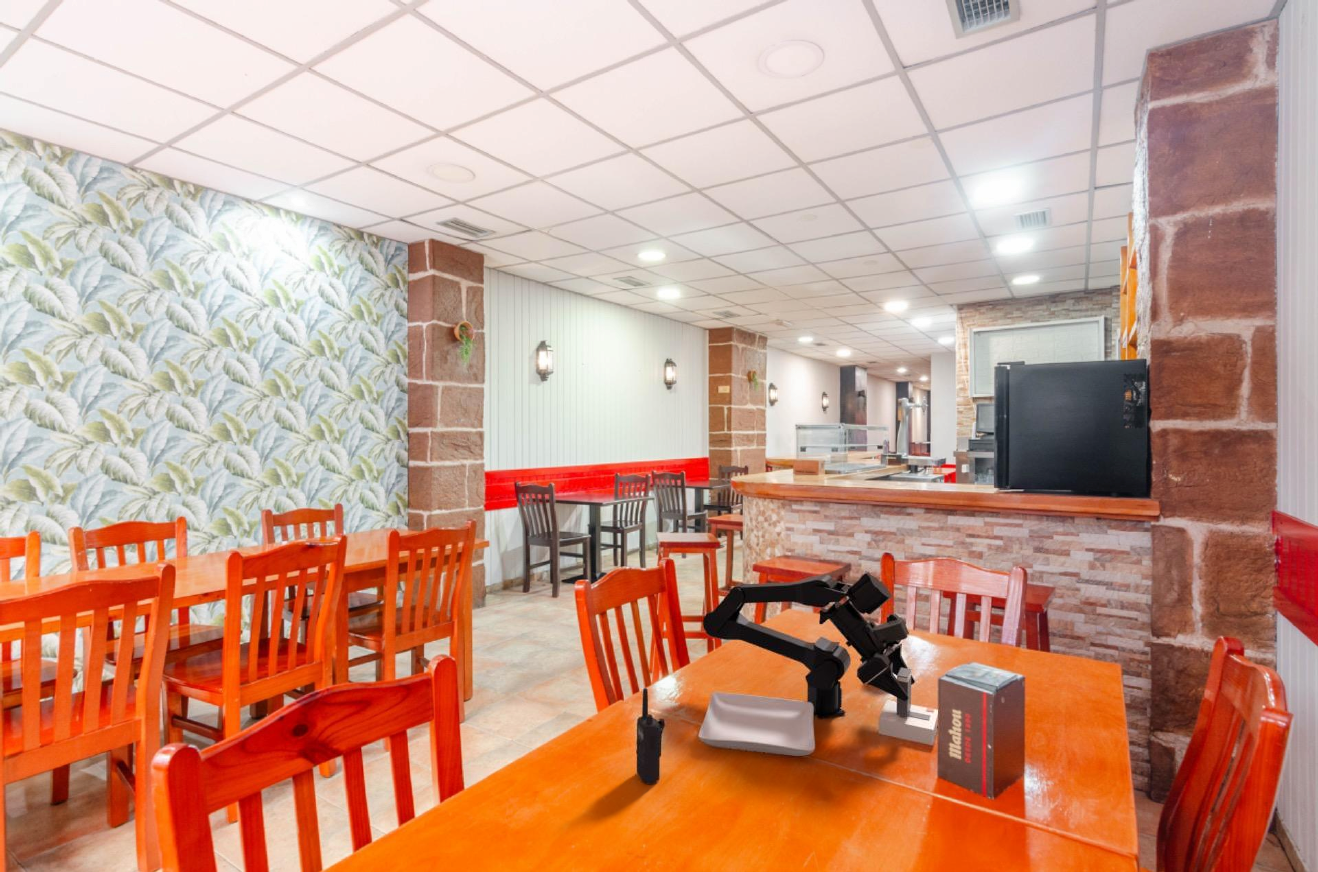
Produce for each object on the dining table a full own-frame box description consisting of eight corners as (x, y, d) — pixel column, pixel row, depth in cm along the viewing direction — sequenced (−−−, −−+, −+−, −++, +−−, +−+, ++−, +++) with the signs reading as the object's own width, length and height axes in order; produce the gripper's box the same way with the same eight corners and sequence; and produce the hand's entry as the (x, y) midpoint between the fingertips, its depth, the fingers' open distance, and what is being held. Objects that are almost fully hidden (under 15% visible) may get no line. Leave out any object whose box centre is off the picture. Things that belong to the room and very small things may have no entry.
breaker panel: (878, 733, 131) (878, 717, 131) (886, 713, 140) (887, 699, 140) (933, 745, 127) (933, 729, 127) (938, 724, 136) (938, 709, 136)
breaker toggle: (896, 714, 132) (896, 675, 132) (900, 705, 137) (900, 667, 137) (907, 716, 131) (908, 677, 131) (911, 707, 136) (911, 668, 136)
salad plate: (815, 767, 119) (815, 748, 119) (696, 753, 123) (697, 735, 123) (813, 716, 140) (813, 700, 140) (711, 706, 144) (712, 690, 144)
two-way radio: (633, 771, 116) (634, 685, 116) (657, 766, 118) (658, 682, 117) (644, 787, 111) (645, 697, 111) (669, 782, 113) (670, 694, 112)
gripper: (875, 615, 127) (936, 684, 122) (891, 593, 144) (946, 653, 139) (833, 649, 131) (891, 717, 126) (853, 624, 148) (905, 684, 143)
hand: (910, 691), depth 133 cm, fingers open, 9 cm apart
